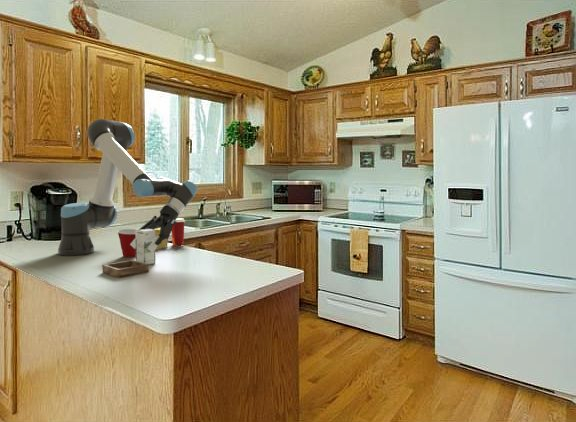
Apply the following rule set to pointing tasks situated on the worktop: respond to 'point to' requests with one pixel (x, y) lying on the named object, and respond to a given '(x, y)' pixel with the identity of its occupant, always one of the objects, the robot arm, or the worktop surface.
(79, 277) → the worktop surface
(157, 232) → the cheese
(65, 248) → the robot arm
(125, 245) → the plastic cup
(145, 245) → the syrup box
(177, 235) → the paper cup
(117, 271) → the tray
